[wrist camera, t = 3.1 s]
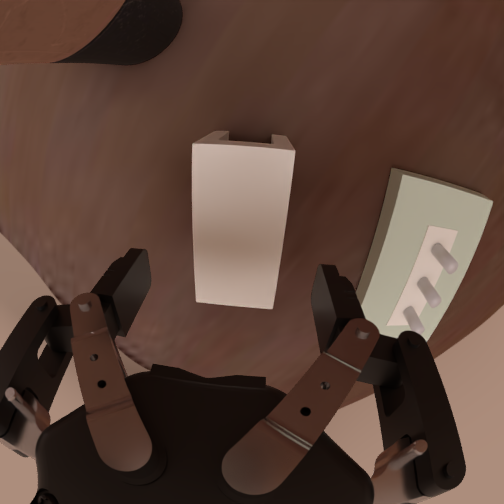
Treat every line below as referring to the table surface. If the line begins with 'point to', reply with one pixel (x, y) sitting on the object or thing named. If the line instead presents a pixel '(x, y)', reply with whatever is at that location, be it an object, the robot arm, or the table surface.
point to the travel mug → (86, 30)
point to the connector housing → (239, 218)
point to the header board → (420, 252)
